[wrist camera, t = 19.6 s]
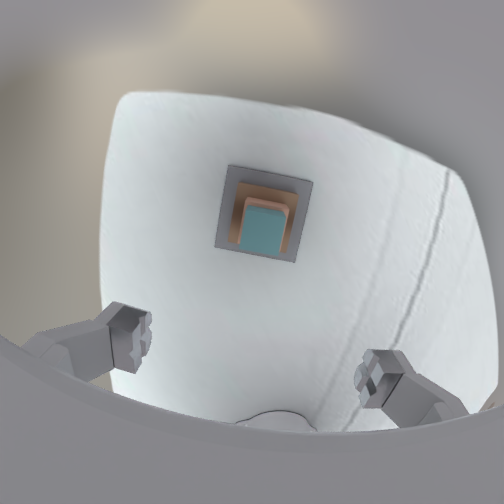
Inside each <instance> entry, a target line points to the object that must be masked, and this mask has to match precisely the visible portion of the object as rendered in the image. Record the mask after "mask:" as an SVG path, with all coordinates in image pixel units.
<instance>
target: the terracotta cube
mask: <svg viewBox="0 0 504 504" xmlns="http://www.w3.org/2000/svg"><path fill="white" fill-rule="evenodd" d="M248 205H251V206H256V207H262V208H267V209H272V210H278V211H283V212H284V214H285V216H286V222H285V226H284V231H283V236H282V241H283V237H284V232H285V228H286V223H287V219H288V214H289V208H288V207H287V205H286V204H282V203H277V202H272V201H267V200H262V199H257V198H252V197H247V199H246V200H245V205H244V210H243V215H242V221H241V226H240V232H239V237H238V242H237V244H240V240H241V234H242V228H243V223H244V217H245V211H246V208H247V206H248ZM282 241H281V245H282ZM281 245H280V250H281ZM280 250H279V252H280Z"/></svg>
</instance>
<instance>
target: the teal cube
mask: <svg viewBox="0 0 504 504" xmlns="http://www.w3.org/2000/svg"><path fill="white" fill-rule="evenodd" d="M285 222H286V216H285V214H284V212H283V211H278V210H272V209H267V208H262V207H256V206H251V205H248V206H247V208H246V211H245V217H244V223H243V228H242V234H241V240H240V245H239V249H242V250H247V251H253V252H258V253H263V254H269V255H274V256H278V255H279V250H280V245H281V241H282V236H283V231H284V226H285Z"/></svg>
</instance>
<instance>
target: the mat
mask: <svg viewBox="0 0 504 504" xmlns="http://www.w3.org/2000/svg"><path fill="white" fill-rule="evenodd" d="M238 182H244V183H249V184H255V185H260V186H265V187H270V188H275V189H280V190H284V191H289V192H294V193H297V194H299V198H298V203H297V208H296V212H295V217H294V221H293V226H292V230H291V234H290V239H289V243H288V247H287V252H286V253H282V252H279V255H278V256H274V255H269V254H263V253H258V252H253V251H247V250H242V249H239V245H240V244H236V243H231V242H228V236H229V230H230V224H231V219H232V213H233V208H234V202H235V197H236V191H237V186H238ZM312 186H313V182H309V181H305V180H300V179H296V178H291V177H287V176H282V175H277V174H272V173H267V172H262V171H257V170H252V169H246V168H241V167H235V166H228V171H227V176H226V182H225V187H224V193H223V199H222V204H221V210H220V216H219V222H218V228H217V234H216V241H215V247H216V248H222V249H227V250H232V251H237V252H242V253H247V254H252V255H258V256H263V257H268V258H273V259H278V260H283V261H289V262H294V263H295V259H296V255H297V251H298V247H299V243H300V239H301V235H302V230H303V226H304V222H305V217H306V213H307V209H308V204H309V200H310V195H311V190H312Z"/></svg>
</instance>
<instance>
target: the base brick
mask: <svg viewBox="0 0 504 504" xmlns="http://www.w3.org/2000/svg"><path fill="white" fill-rule="evenodd" d="M247 197H252V198H257V199H262V200H267V201H272V202H277V203H282V204H286V205H287V207H288V208H289V214H288V219H287V223H286V228H285V232H284V237H283V241H282V245H281V250H280V252H282V253H286V252H287V247H288V243H289V239H290V234H291V230H292V226H293V221H294V217H295V212H296V208H297V203H298V198H299V194H297V193H294V192H289V191H284V190H280V189H275V188H270V187H265V186H260V185H255V184H249V183H244V182H238V186H237V191H236V197H235V202H234V208H233V213H232V219H231V224H230V230H229V236H228V242H231V243H236V244H237V242H238V237H239V232H240V226H241V221H242V215H243V210H244V205H245V200H246V199H247Z"/></svg>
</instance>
